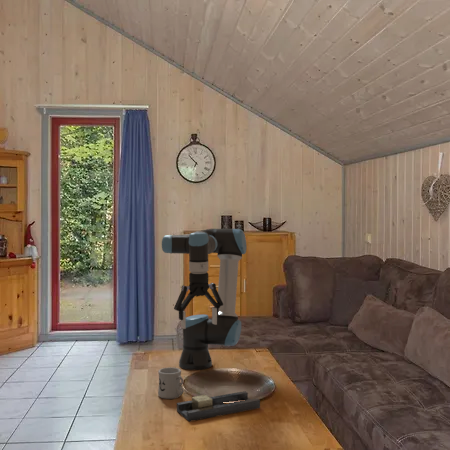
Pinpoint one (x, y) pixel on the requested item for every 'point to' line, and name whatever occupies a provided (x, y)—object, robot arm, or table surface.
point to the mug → (170, 383)
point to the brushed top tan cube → (201, 402)
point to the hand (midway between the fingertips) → (199, 326)
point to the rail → (218, 406)
